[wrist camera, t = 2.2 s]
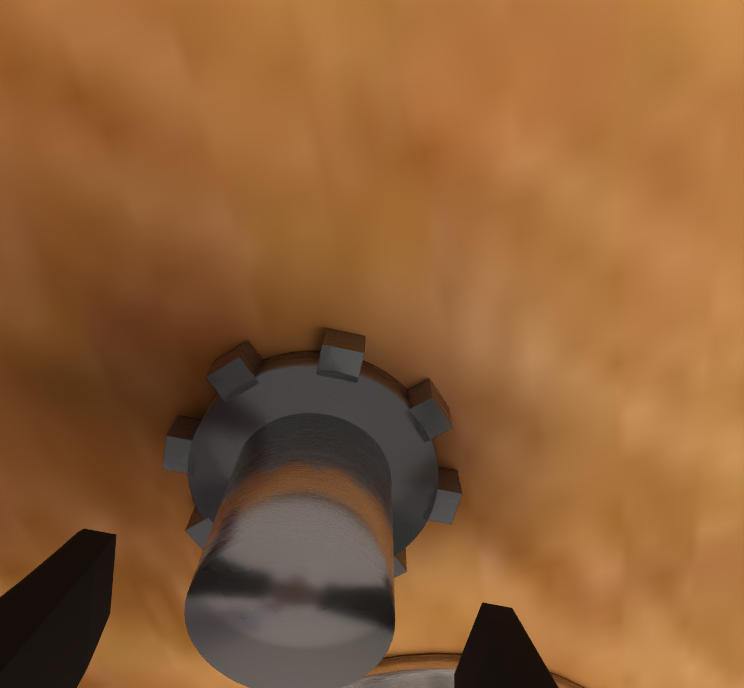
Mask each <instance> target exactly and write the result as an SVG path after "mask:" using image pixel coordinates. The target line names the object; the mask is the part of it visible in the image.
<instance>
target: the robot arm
mask: <svg viewBox="0 0 744 688" xmlns="http://www.w3.org/2000/svg"><path fill="white" fill-rule="evenodd" d="M115 545H116V534H110V533H105V532H100V531H94V530H89V529H83V530H81V531H79V532H77V533H76V534H75V535H74V536H73V537H72V538H71V539H70V540H68V541H67V542H66V543H65V544H64V545H63V546H62V547H60V548H59V549H58V550H57V551H56V552H55V553H53V554H52V555H51V556H50V557H49V558H48V559H46V560H45V561H44V562H43V563H42V564H41V565H39V566H38V567H37V568H36V569H35V570H33V571H32V572H31V573H30V574H29V575H27V576H26V577H25V578H24V579H23V580H21V581H20V582H19V583H18V584H16V585H15V586H14V587H12V588H11V589H10V590H9V591H7V592H6V593H5V594H4V595H2V596H1V597H0V688H77V686H78V684H79V682H80V681H81V679H82V677H83V675H84V673H85V671H86V669H87V667H88V665H89V663H90V661H91V658H92V656H93V654H94V651H95V649H96V647H97V644H98V642H99V639H100V637H101V634H102V632H103V630H104V627H105V625H106V622H107V620H108V617H109V615H110V608H111V596H112V583H113V570H114V558H115ZM454 688H559V687H558V685H557V684H556V682H555V680H554V679H553V677H552V675H551V674H550V672H549V670H548V669H547V667H546V665H545V664H544V662H543V660H542V659H541V657H540V655H539V653H538V652H537V650H536V648H535V647H534V645H533V643H532V641H531V640H530V638H529V636H528V634H527V633H526V631H525V629H524V627H523V626H522V624H521V622H520V621H519V619H518V617H517V615H516V614H515V612H514V610H513V609H512V608H509V607H504V606H498V605H493V604H488V603H482V605H481V607H480V610H479V612H478V615H477V617H476V620H475V622H474V625H473V628H472V630H471V633H470V635H469V638H468V640H467V643H466V645H465V648H464V650H463V653H462V655H461V658H460V661H459V663H458V666H457V668H456V671H455V673H454Z"/></svg>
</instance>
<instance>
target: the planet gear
mask: <svg viewBox="0 0 744 688" xmlns="http://www.w3.org/2000/svg"><path fill="white" fill-rule="evenodd" d="M364 352H365V337H364V336H360V335H355V334H350V333H346V332H341V331H336V330H332V329H327V328H326V330H325V334H324V339H323V343H322V348H321V352H319V351H304V352H293V353H287V354H282V355H278V356H274V357H271V358H268V359H265V360H262V359H261V357H260V356H259V355H258V353H257V352H256V351H255V349H254V348H253V347H252V346H251V344H250V343H249V342H248V341H246V342H244V343H243V344H241V345H239V346H238V347H236V348H234V349H233V350H231V351H229V352H228V353H226V354H224V355H223V356H221V357H220V358H218V359H216V360H215V362H214V364H213V366H212V367H211V369H210V371H209V372H208V374H207V376H206V378H207V380H208V381H209V382H210V383H211V385H212V386H213V387H214V388H215V389H216V391H217V392H218V394H217V395H216V396H215V397H214V399H213V400H212V402H211V404H210V406H209V407H208V409H207V411H206V413H205V415H204V417H203V419H202V420H198V419H193V418H188V417H183V416H178V417H177V419H176V420H175V422H174V424H173V426H172V427H171V429H170V431H169V432H168V434H167V436H166V445H165V453H164V462H163V469H167V470H172V471H177V472H182V473H187V474H188V478H189V486H190V489H191V493H192V497H193V500H194V502H195V504H196V507H195V508H194V511H193V513H192V515H191V518H190V520H189V522H188V525H187V527H186V529H185V531H186V532H187V533H188V534H189V535H190V536H191V538H192V539H193V540H194V541H195V542H196V543H197V544H198V545H199V546H200V547H201V548H202V549H203V553H202V556H201V558H200V561H199V564H198V566H197V569H196V572H195V574H194V577H193V580H192V583H191V585H190V588H189V591H188V593H187V597H186V602H185V622H186V627H187V630H188V633H189V636H190V638H191V640H192V642H193V644H194V646H195V647H196V649H197V650H198V651H199V653H200V654H201V655H202V656H203V657H204V659H205V660H206V661H207V662H208V663H209V664H210V665H212V666H213V667H214V668H215V669H216V670H218V671H219V672H221V673H222V674H223V675H225V676H226V677H228V678H230V679H232V680H234V681H236V682H238V683H240V684H242V685H245V686H247V687H250V688H342V687H345V686H347V685H349V684H351V683H353V682H355V681H357V680H359V679H360V678H362V677H363V676H365V675H366V674H368V673H369V672H370V671H371V670H372V669H374V668H375V667H376V666H377V664H378V663H379V662H380V661H381V660H382V659H383V657H384V656H385V654H386V652H387V651H388V649H389V647H390V644H391V642H392V639H393V635H394V630H395V599H394V578H395V577H397V576H399V575H401V574H403V573H405V572H407V567H406V547H407V546H408V545H409V544H410V543H411V542H412V541H413V540H414V539H415V538H416V536H417V535H418V534H419V533H420V531H421V530H422V529H423V527H424V526H425V524H426V522H427V521H428V520H431V521H437V522H442V523H447V524H452V522H453V519H454V516H455V513H456V510H457V507H458V504H459V501H460V499H461V496H462V491H461V486H460V480H459V475H458V471H454V470H449V469H444V468H439V467H438V463H437V456H436V449H435V443H434V438H435V437H436V436H438V435H440V434H442V433H444V432H446V431H448V430H450V429H452V428H453V426H452V421H451V416H450V411H449V408H448V406H447V404H446V403H445V401H444V400H443V398H442V397H441V395H440V394H439V392H438V391H437V389H436V388H435V386H434V385H433V383H432V382H431V380H430V379H428V380H426V381H424V382H422V383H420V384H419V385H417V386H415V387H413V388H411V389H410V390H407V389H406V388H405V387H403V386H402V385H401V384H400V383H399V382H398V381H397V380H395V379H394V378H393V377H391V376H390V375H389V374H387V373H386V372H384V371H382V370H381V369H379V368H377V367H375V366H373V365H371V364H369V363H367V362H364V361H363V357H364Z"/></svg>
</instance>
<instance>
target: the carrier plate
mask: <svg viewBox="0 0 744 688" xmlns="http://www.w3.org/2000/svg"><path fill="white" fill-rule="evenodd" d="M460 658H461V655H449V654H426V655H411V656H398V657H392V658H386V659H382V660H381V661H380V662H379V663H378V664H377V666H376V667H375V668H374V669H372V670H371V671H370V672H369V673H368V674H366V675H365V676H363V677H362V678H360V679H359V680H357V681H355V682H353V683H351V684H349V685H347V686H345V687H342V688H454V673H455V671H456V668H457V666H458V663H459V661H460ZM550 674H551V673H550ZM551 675H552V677H553V679H554V680H555V682H556V684H557V685H558V687H559V688H583V687H581V686H579V685H577V684H574V683H572V682H570V681H568V680H566V679H564V678H562V677H560V676H557V675H554V674H551Z"/></svg>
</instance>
